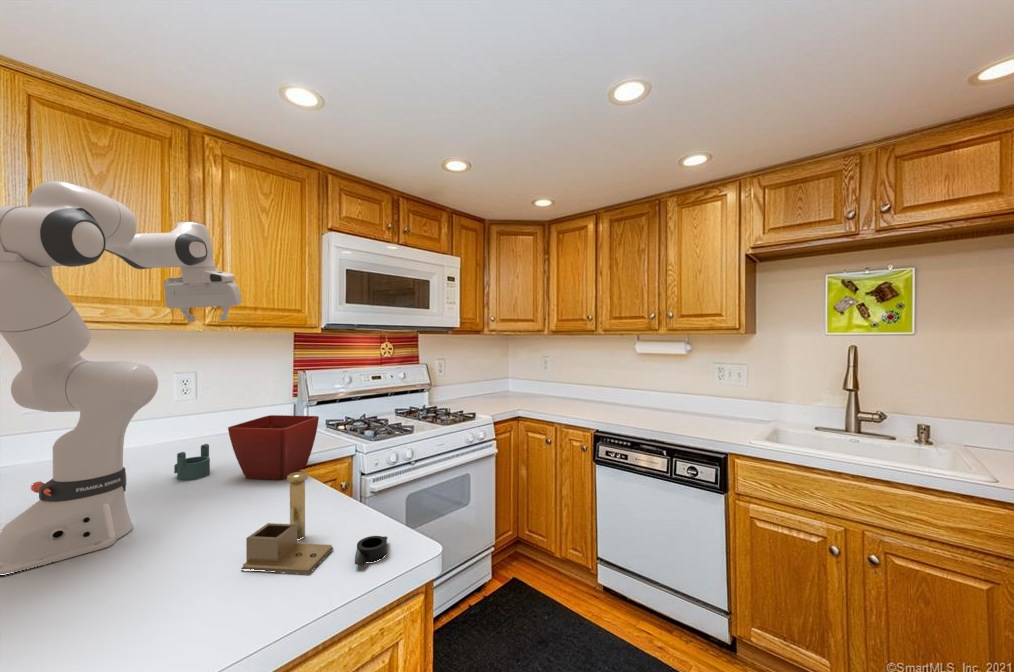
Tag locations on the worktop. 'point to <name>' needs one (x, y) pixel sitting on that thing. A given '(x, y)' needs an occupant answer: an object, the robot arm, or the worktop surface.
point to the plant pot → (273, 445)
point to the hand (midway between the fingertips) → (207, 321)
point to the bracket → (193, 465)
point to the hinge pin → (297, 501)
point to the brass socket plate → (282, 550)
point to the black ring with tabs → (370, 549)
